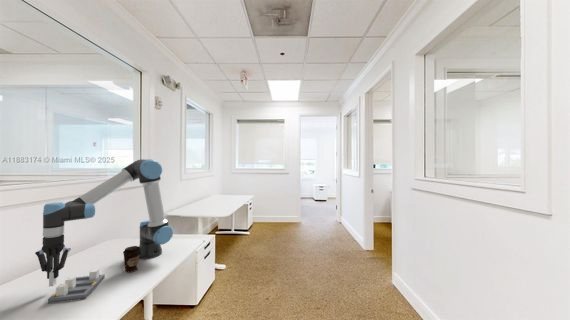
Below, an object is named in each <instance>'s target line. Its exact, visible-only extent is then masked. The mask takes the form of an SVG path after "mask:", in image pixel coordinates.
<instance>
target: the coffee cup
mask: <svg viewBox="0 0 570 320" xmlns="http://www.w3.org/2000/svg"><path fill="white" fill-rule="evenodd" d="M139 251H140V250H139V245H132V246H131V245H130V246H127V247H126V248H125V249H124V251H123V252H122V255H123V262H124V263H123V266H124V271H125V273H129V274H130V273H134V272H136V271H138V269H139V268H138V265H139V259H140V258H139Z"/></svg>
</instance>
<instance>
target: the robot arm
mask: <svg viewBox="0 0 570 320" xmlns="http://www.w3.org/2000/svg"><path fill="white" fill-rule="evenodd" d="M162 173H163V167H162V164H161V163H160V162H159V161H157V160H155V159H152V158H151V159H148V158H147V159H143V158H142V159H137V160H135V161H133V162H132V163H130V164H128V165H127V166H125V167H124V168H122V169H121V171H120V172H118V173H117V174H115V175H113V176H112V177H110V178H108V179H107V180H104V181H103V182H101V183H99V184H98V185H97V186H95V187H94V188H91V189H90V190H89V191H86V192H85V193H83V194H82V195H80V196H78V197H77V198H75V199H73V200H70V201H66V202H63V201H57V202H47V203H45V204H44V205H43V213H42V247H41V249H39V250H38V251H35V252H34V253H35V255H36V257H37V258H38V262H39V265H40V269H41V272H42V273H43V272H45V273H46V279H48V287H54V286H55V285H56V284H57V279H58V278H59V275H60V274H59V272H60V271H61V270H62V269H63V268H64V267H65V264H66V261H67V257H68V255H69V252H70V251H71V250H72V249H71V247H68V248H67V247H66V245H65V244H64V243H65V222H69V221H77V220H87V219H91V218H93V217H94V216H95V215H96V207H95V204H96V203H98V202H100V201H101V200H102V199H104V198H106V197H107V196H109V195H110V194H112V193H114V192H116V191H117V190H118V189H121V188H122V187H124V186H125V185H126V184H128V183H130V182H131V183H132V182H134V181H135V180H137V179H138V181H139V184H141V185H142V186H143V191H144V198H145V201H146V202H145V203H146V208H147V209H146V210H147V213H148V220H142V221H141V222H140V223H139V245H138V247H139V250H140V251H139V259H142V260H143V259H153V258H155V257H159V256H160V255H162V254H163V249H162V245H164V244H165V245H166V244H167V243H168V242H170V240H171V239H172V238H173V236H174V235H173V234H174V230H173V228H172V227H171V226H170V225H169V224H170V223H169V219H167V218H166V217H165V211H164V205H163V202H162V201H163V199H162V195H161V189H160V184H159V182H160V181H161V175H162ZM61 253H62V255H61ZM60 255H61V257H60Z"/></svg>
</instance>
